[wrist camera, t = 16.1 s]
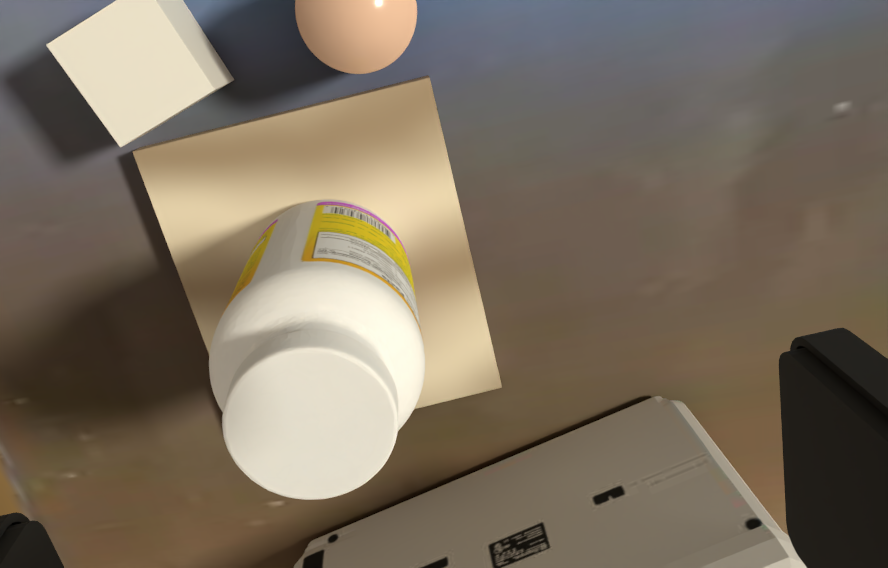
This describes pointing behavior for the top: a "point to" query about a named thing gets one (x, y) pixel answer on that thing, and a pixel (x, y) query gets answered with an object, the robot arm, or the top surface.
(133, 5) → the off-white block
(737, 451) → the top surface
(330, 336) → the supplement bottle
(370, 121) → the ash board
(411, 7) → the peach rounded capsule
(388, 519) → the stereo radio cassette player
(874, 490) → the robot arm
